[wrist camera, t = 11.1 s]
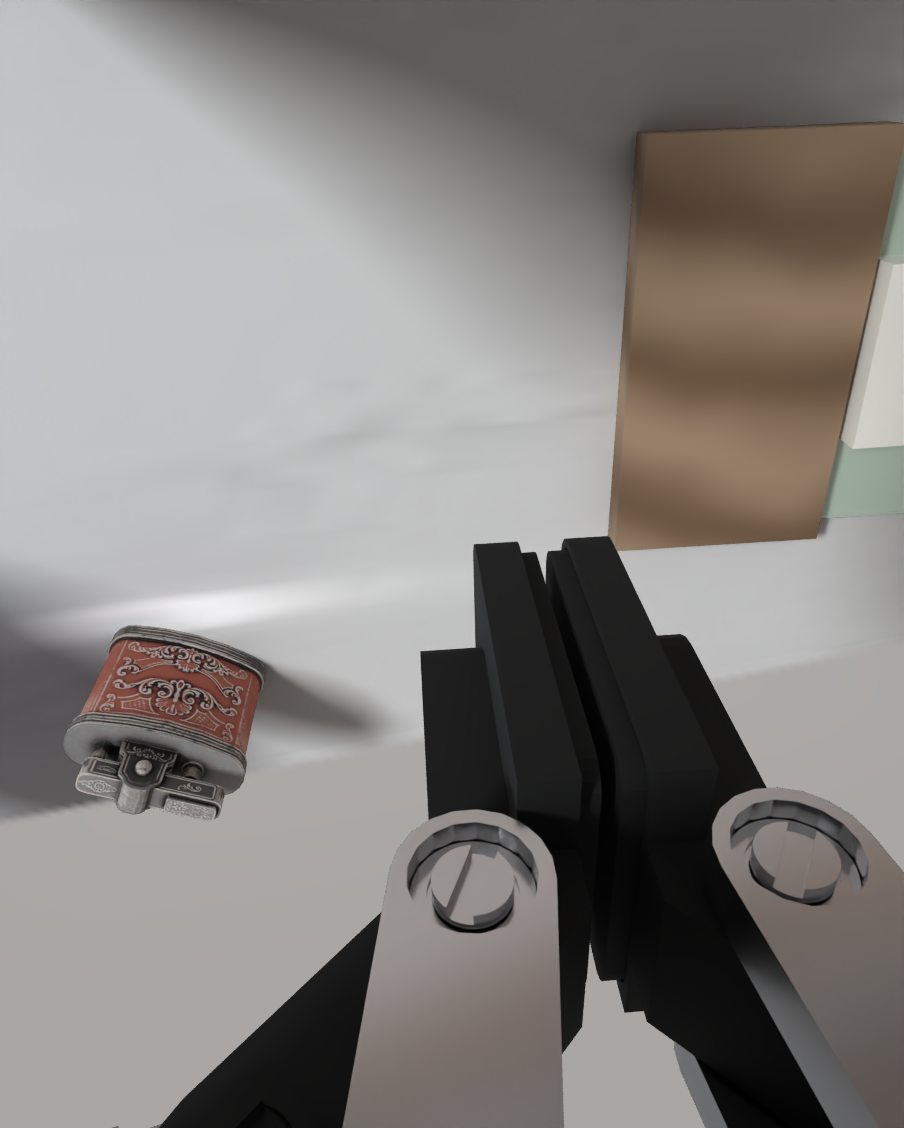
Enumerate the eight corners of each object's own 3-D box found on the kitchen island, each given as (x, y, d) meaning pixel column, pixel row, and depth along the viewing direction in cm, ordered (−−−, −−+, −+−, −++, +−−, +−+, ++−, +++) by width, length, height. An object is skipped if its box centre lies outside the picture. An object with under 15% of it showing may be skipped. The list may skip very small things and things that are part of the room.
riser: (637, 132, 32) (647, 134, 31) (887, 121, 32) (908, 123, 31) (607, 536, 41) (614, 551, 40) (803, 524, 42) (816, 538, 40)
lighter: (106, 664, 43) (36, 809, 35) (118, 614, 42) (48, 753, 33) (256, 702, 45) (224, 849, 37) (273, 656, 44) (244, 797, 35)
